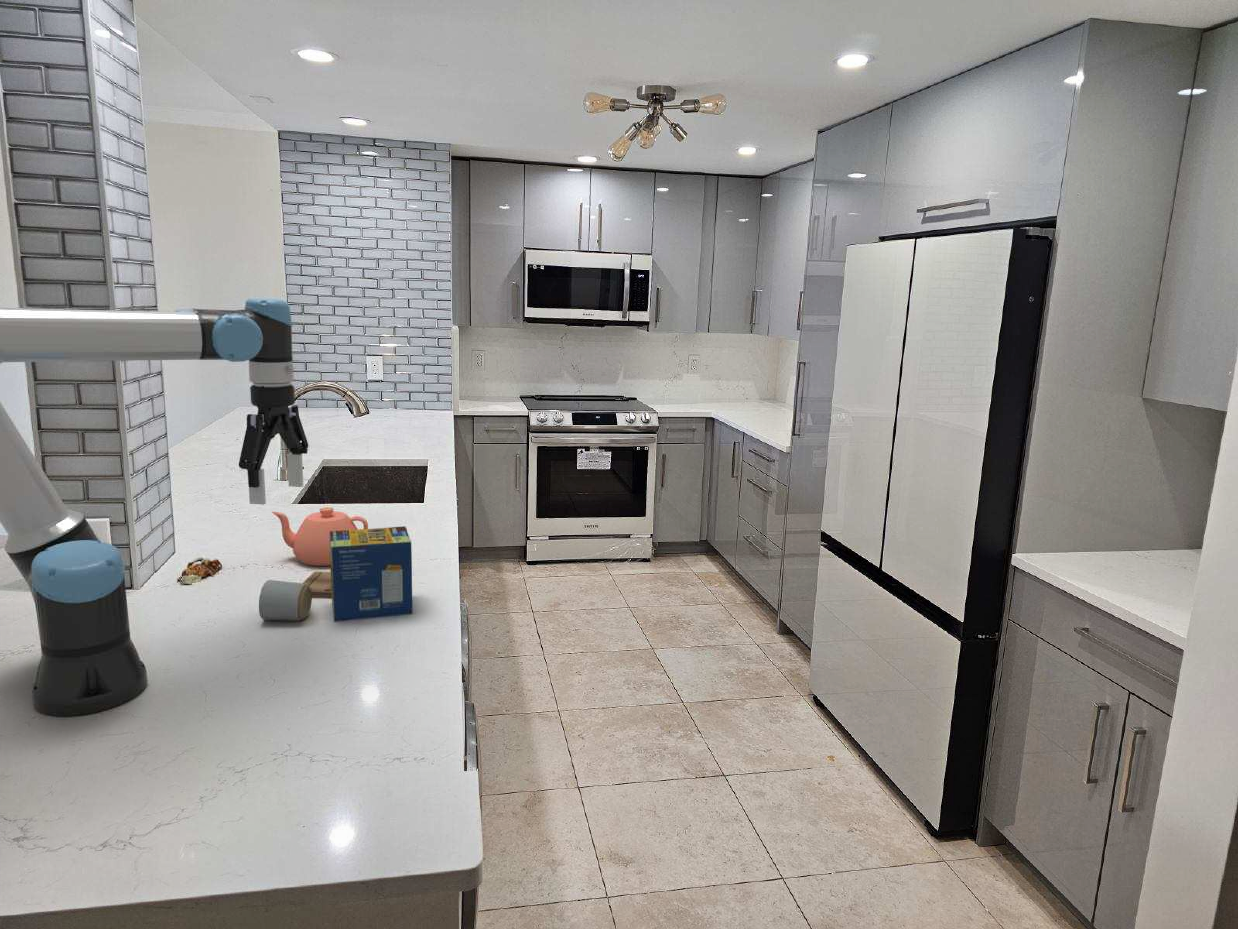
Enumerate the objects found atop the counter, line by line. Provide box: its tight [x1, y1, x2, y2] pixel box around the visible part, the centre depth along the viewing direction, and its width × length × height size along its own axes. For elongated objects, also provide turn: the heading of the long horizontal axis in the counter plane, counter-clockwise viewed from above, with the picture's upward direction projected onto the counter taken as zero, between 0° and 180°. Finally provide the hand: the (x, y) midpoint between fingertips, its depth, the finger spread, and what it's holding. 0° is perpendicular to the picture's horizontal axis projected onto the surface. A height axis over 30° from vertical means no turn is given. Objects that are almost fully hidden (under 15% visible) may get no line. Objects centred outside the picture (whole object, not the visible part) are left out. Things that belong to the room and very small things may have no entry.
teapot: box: [271, 506, 369, 567], centre depth 190 cm, size 22×16×12 cm
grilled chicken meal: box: [176, 557, 223, 586], centre depth 177 cm, size 7×12×4 cm, turn 8°
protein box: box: [330, 525, 413, 622], centre depth 162 cm, size 10×15×16 cm
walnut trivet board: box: [301, 571, 332, 599], centre depth 173 cm, size 12×8×2 cm, turn 1°
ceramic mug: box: [258, 579, 313, 621], centre depth 158 cm, size 11×8×8 cm
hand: (277, 494), depth 153 cm, fingers open, 13 cm apart
